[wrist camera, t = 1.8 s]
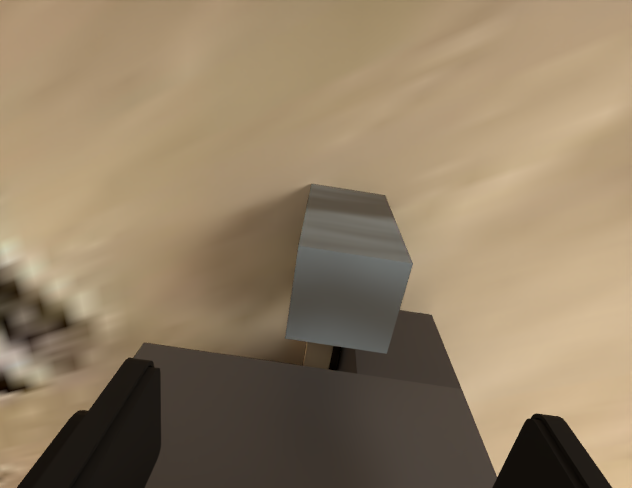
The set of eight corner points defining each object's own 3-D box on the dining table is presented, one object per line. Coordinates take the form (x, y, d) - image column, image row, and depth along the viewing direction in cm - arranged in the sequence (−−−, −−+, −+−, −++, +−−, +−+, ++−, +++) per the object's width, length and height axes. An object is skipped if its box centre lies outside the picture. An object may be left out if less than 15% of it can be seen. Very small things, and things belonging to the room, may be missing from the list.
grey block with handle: (311, 183, 20) (298, 245, 13) (385, 195, 20) (412, 263, 13) (269, 466, 30) (248, 593, 23) (319, 473, 30) (314, 602, 23)
